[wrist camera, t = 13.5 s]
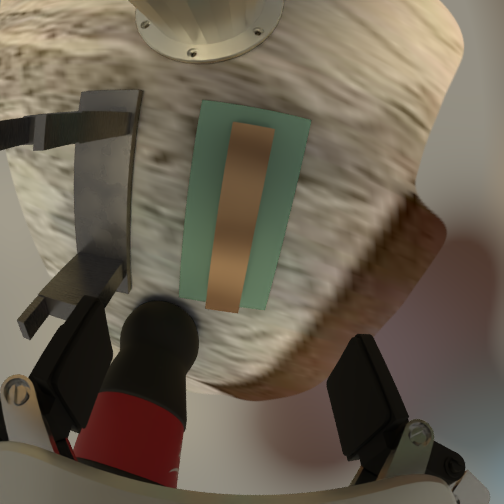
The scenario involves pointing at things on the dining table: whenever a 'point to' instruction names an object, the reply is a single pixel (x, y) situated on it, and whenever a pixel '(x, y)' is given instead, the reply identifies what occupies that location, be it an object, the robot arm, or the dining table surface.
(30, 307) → the rail stand
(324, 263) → the dining table surface
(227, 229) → the walnut rail
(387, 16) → the dining table surface
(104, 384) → the cola bottle
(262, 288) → the rubber mat
